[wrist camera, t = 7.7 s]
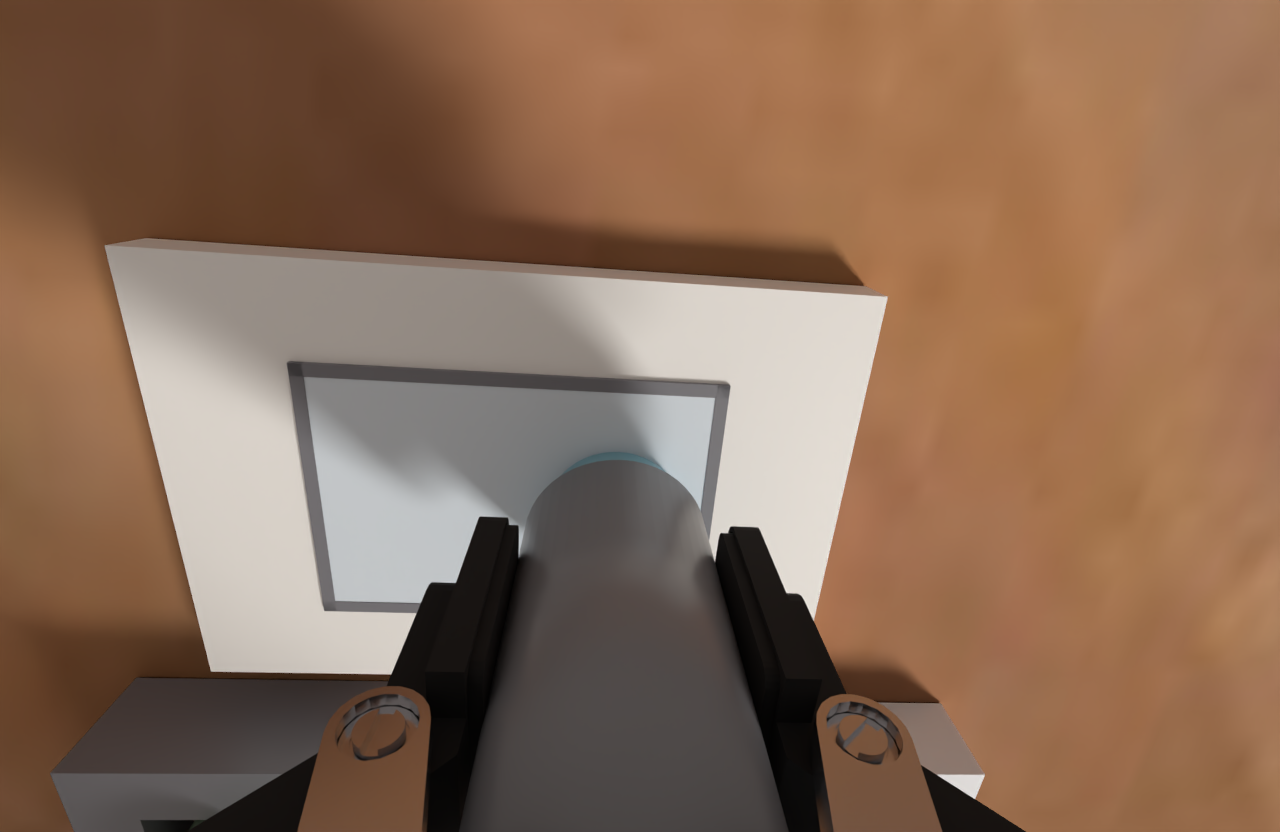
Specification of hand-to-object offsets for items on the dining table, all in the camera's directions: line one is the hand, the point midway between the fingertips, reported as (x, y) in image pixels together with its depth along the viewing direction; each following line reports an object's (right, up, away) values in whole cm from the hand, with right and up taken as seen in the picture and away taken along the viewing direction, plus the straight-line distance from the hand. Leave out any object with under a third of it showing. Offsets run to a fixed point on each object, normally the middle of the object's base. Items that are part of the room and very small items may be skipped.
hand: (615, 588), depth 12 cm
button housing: (-10, -8, +7) cm, 15 cm away
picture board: (-3, +2, +4) cm, 5 cm away
